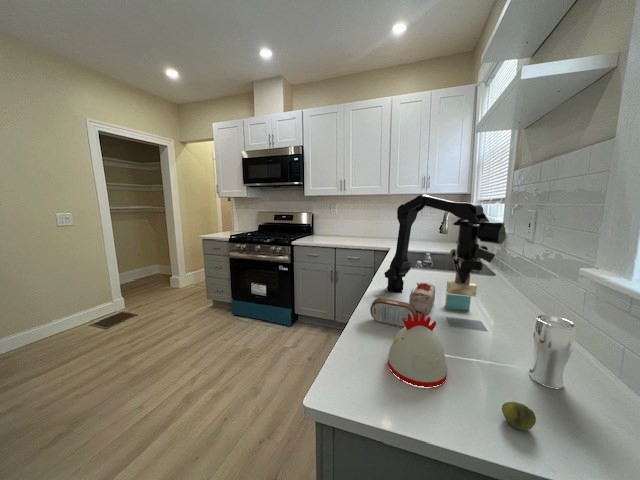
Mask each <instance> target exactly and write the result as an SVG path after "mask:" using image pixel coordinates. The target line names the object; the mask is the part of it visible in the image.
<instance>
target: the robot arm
mask: <svg viewBox="0 0 640 480" xmlns="http://www.w3.org/2000/svg"><path fill="white" fill-rule="evenodd" d="M425 207H428V208H432V209H436V210H441V211H444V212H448V213H450V214H452V215H453V216H455V217H456V218H459V219H457V220H456V221H455V222H454V223H453V224H452V225H453V226H458V227H459V228H458V237H457V240H456V241H455V242H456V248H453V249H452V250H450V253H449V257H450V258H453V259H452V262H453V266H454V269H455V272H456V271H458V273H459V277H460V280H461V283H465V282H466V280H467V278H468V276H469V274H471V272H472V271H474V270H475V271H483V266H484V264H483V263H482V262H481V261H480V260H479V259H481V260H484V261H486V262H488V263H489V264H490V263H491V262H492V261H493V260H494V258H495V256H496V254H495V253H493V252H492V251H490V250H488V247H487V246H485V245H483V244H482V245H480V244H479V243H477V242H478V240H479V241H480V242H483V243H490V244H495V245H496V244H497V245H502V244H503V243H504V241H505V239H506V236H507V232H506V228H505V224H506V223H505V222H501V221H500V222H493V221H490V220H489V219H488V217H487V216H486V214H485V213H484V207H483V205H482V204H480V203H479V202H465V201H464V202H459V201H457V202H456V201H452V200H449V199H444V198H439V197H435V196H430V195H428V194H419V195H417V196H416V197H415V198H413V199H411V200H408V201H407V202H405V203H403V204H402V203H401V204H400V205H399V206H398V207H397V210H396V215H397V216H396V219H397V221H398V224H399V226H398V233H397V240H396V242H397V243H396V249H395V255H394V257H393V259H392V260H391V262H390V265H389V268H388V269H387V270H386V271H385V272H384V278H386V279H387V288H386V289H387V290H386V291H387V292H390V293H391V292H392V293H400V294H401V293H403V291H404V284H405V283H404V279H403V278H405V277H406V275H407V274H408V273H409V271H411V264H412V261H411V260H409V258H408V251H409V244H410V238H411V230H412V226H413V224H414V222H415V221H416V219H417V217H418V213H419V212H421V211H422V210H423V209H424V208H425Z"/></svg>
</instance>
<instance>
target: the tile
mask: <svg viewBox="0 0 640 480" xmlns="http://www.w3.org/2000/svg"><path fill="white" fill-rule="evenodd" d="M445 292H446V293H445V302H444V307H445V308H446V309H451V310H452V309H454V310H460V311H461V310H462V311H470V306H471V300H472V299H471V298H472V296H465V295H457V294H448V293H447V291H445Z"/></svg>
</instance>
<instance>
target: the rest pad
mask: <svg viewBox="0 0 640 480" xmlns="http://www.w3.org/2000/svg"><path fill="white" fill-rule="evenodd" d="M445 319H446V321H447V322H448V325H449V327H450V328H459V329H467V330H474V331H482V332H489V330H488V329H487V328H486V326H485V325H484V323H483V322H482V321H481V320H476V319H468V318H461V317H460V318H459V317H451V316H446V317H445Z"/></svg>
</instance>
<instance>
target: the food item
mask: <svg viewBox="0 0 640 480" xmlns="http://www.w3.org/2000/svg"><path fill="white" fill-rule="evenodd" d="M416 286H417V287H415V289H414V288H412V289H411V291H410V294H409V300H408V304H410V305H412V306H413V307H414V309H415V311H416V312H419V313H421V314H422V312H423V313H424V314H425V315H429V313H430V312H431V310H432V309H433V305H434V303H435V299H436V286H435V285H434V284H431V283H428V282H416Z"/></svg>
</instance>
